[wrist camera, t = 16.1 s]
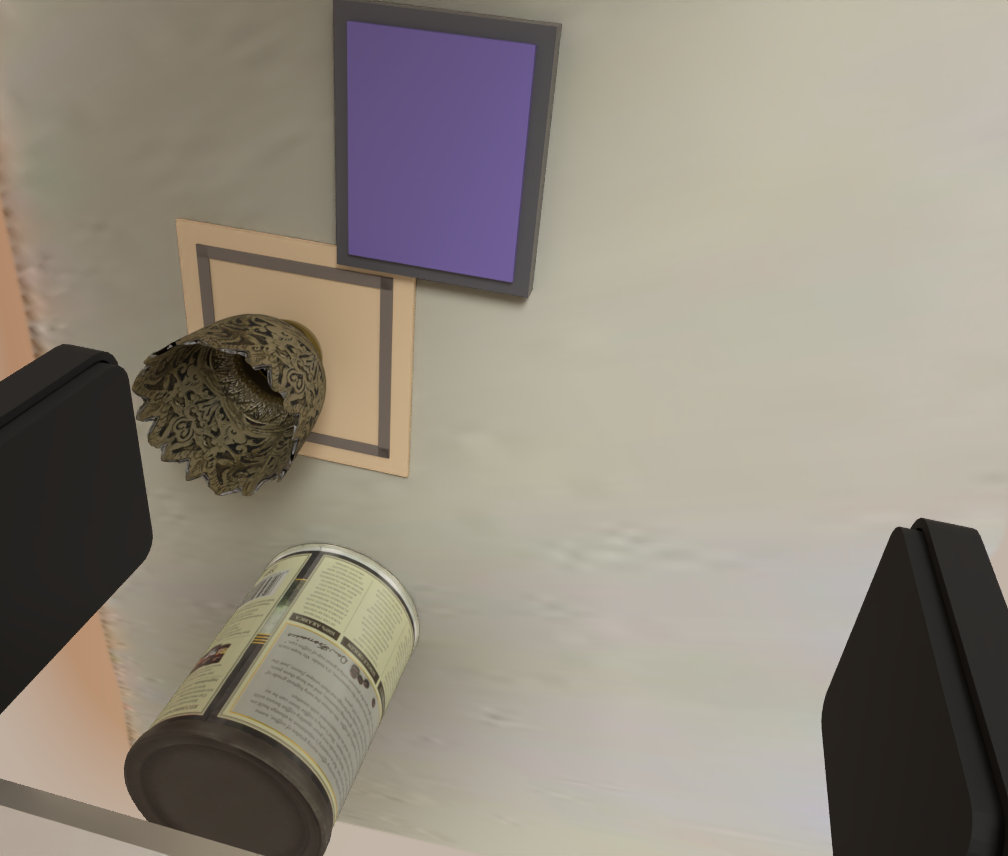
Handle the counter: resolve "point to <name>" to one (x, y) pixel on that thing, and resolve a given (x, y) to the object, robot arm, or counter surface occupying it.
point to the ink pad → (441, 142)
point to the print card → (318, 330)
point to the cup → (234, 400)
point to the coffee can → (279, 707)
